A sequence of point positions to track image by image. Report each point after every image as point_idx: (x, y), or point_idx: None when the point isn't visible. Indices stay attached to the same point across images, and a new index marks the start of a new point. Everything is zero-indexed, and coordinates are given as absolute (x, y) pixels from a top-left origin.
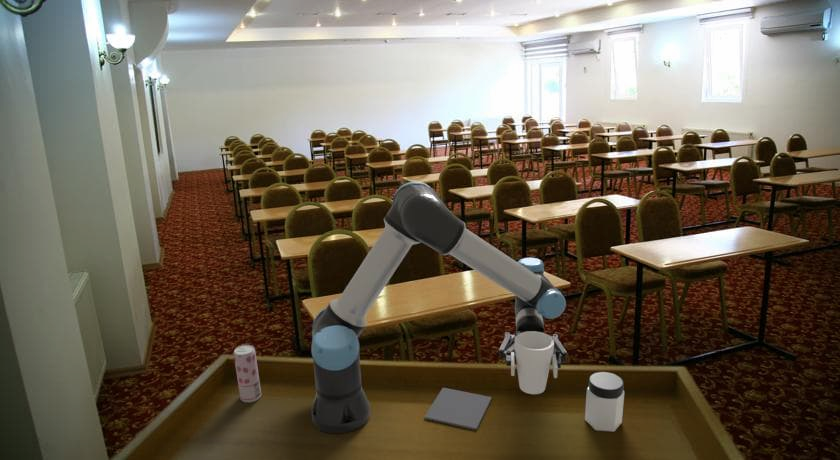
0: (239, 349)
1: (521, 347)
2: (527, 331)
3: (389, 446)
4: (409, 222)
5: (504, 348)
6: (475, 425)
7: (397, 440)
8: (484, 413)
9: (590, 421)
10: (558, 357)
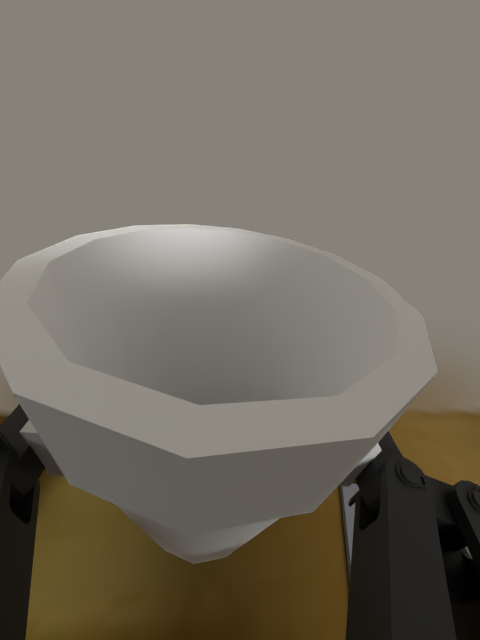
0: None
1: (310, 249)
2: (347, 442)
3: (462, 425)
4: None
5: (472, 527)
6: (348, 491)
7: (465, 441)
8: (349, 580)
9: None
10: (15, 426)
